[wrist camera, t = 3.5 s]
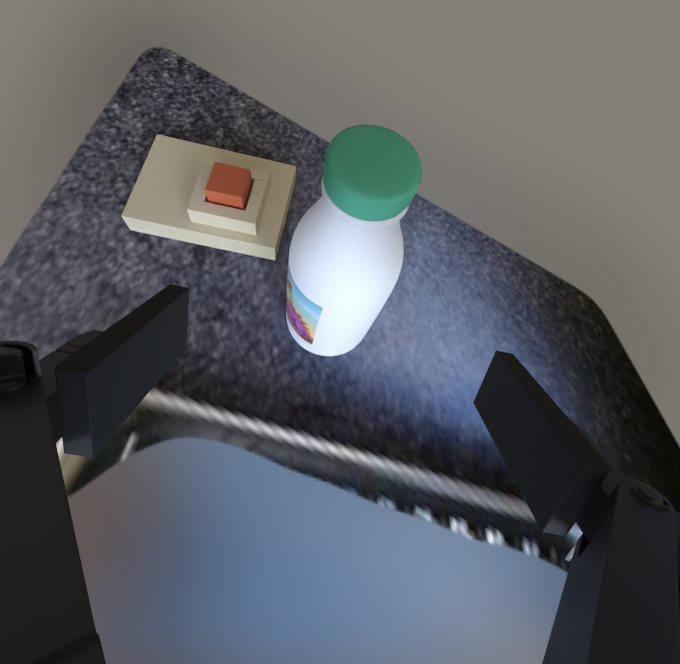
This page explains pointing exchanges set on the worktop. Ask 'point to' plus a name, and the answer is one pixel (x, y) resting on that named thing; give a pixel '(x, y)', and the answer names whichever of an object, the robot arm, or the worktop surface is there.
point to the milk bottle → (350, 239)
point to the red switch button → (228, 185)
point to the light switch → (192, 204)
